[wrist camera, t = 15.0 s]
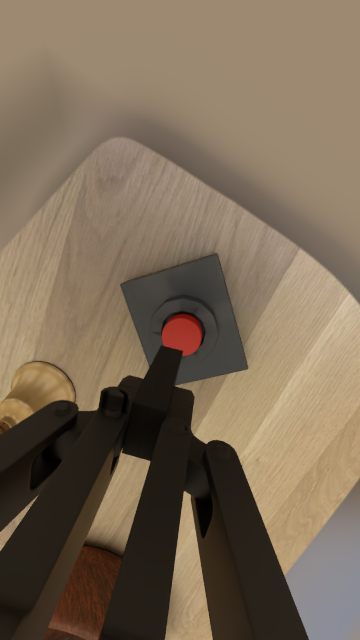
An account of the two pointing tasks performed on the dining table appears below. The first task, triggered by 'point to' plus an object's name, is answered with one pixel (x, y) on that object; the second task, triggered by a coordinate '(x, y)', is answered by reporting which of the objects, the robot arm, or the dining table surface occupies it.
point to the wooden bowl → (85, 596)
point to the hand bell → (33, 392)
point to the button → (182, 333)
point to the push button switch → (196, 300)
